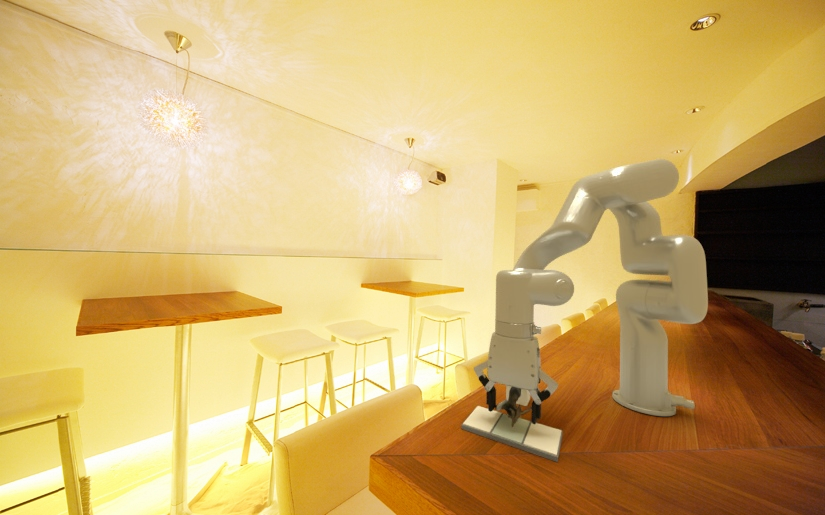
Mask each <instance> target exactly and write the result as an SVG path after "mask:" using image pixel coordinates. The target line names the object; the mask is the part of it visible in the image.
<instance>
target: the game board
mask: <svg viewBox="0 0 825 515" xmlns="http://www.w3.org/2000/svg"><path fill="white" fill-rule="evenodd" d="M507 416H509V415H508V413H504V412H500V411H497V410H495V409H493V411H488V408H486V407H483V406H481V405H476V406H475V408H474V409H473V411H472V412H471V413H470V414H468V416H467V418H466V419H465V420H464V421H463V422H462V424H461V427H460V429H461V430H463V431H466V432H470V433H471V434H475V435H478V436H481V437H483V438H486V439H489V440H493V441H495V442H497V443H501V444H504V445H507V446H510V447H513V448H516V449H518V450H520V451H524V452H527V453H530V454H532V455H536V456H538V457H541V458H545V459H547V460H550V461H553V462H556V463H559V462H558V461H559V456H560V452H561V451H560V450H561V446H562V441H563V434H564V431H563V430H562V429H559V428H555V427H552V426H548V425H545V424H542V423H538V422H536V424H532V423H531V420H528V419H524V418H522V419H521V418H520V417H519V418H518V420H517V421H516V423H515V424H514V426H513V427H512V419H511V418H508V417H507Z"/></svg>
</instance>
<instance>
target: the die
mask: <svg viewBox="0 0 825 515" xmlns="http://www.w3.org/2000/svg"><path fill="white" fill-rule="evenodd" d="M505 386H506V387H505V388H506V389H505V400H507V401H508V399H509V391H510V389H511V387H512V386H507V385H505ZM530 400H531V394H530V393H529V391H528V390H525V389H521V396H520V397H519V398H518V401H517V402H516V405H519V404H520V406H524V407H528V405H529V402H530Z"/></svg>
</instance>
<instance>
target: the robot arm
mask: <svg viewBox="0 0 825 515" xmlns="http://www.w3.org/2000/svg"><path fill="white" fill-rule="evenodd" d="M679 174H680V173H679V170H678V168H677V166H676V164H674V163H673V162H672V161H670V160H668V159H665V158H655V159H652V160H647V161H641V162H635V163H630V164H624V165H620V166H616V167H612V168H608V169H605V170H602V171H598V172H597V173H592V174H589V175H585V176H584V177H581V178H580V179H578V180H577V181H576V182H575V183H574V184H573V186H572V188H571V189H570V191H569V192H568V195H567V197H566V199H565V200H564V203H563V204H562V205H561V206H562V207H561V208H560V210H559V212H558V214H557V215H556V217H555V220H554V221H553V222H552V225H551V226H550V227H549V228H548V229H547V230H545V231H544V232H543V233H542V234H540V235H539V236H538V237H537V238H536V239H535V240H534V241H532V242H531V243H530V245H528V247H526V248H525V249H524V251H523V252H522V253H521V255H520V256H519V257H518V259H517V261H516V263H515V265H514V267H513V269H505V270H500V271H498V272H497V274H496V275H495V316H494V317H495V320H494V322H495V323H494V326H495V327H494V332H492V334H491V338H490V341H489V348H488V355H487V356H488V357H487V360H485V361H482V362H481V363H479V364H477V365H475V366H473V371H474V372H475V375H476V377H477V378H478V381H479V382H480V383H481V385H482V386H483V387H484V390H485V392H486V398H485V399H486V401H485V402H486V405H488V408H487V409H488V411H493V410H495V406H496V405H497V389H496V387H495V385H496V384H500V385H504V386H506V385H507V386H512V387H516V388H520V389H525V390H528V391H529V393H530V397H531V398H532V402H531V407H532V409H531V418H530V419H531V420H530V421H531V423H532V424H536V423H538V422H537V421H538V420H541V417H542V403H543V402H544V401H546V400H548V399H549V398H550V397H551V396H552V395H553V393H554V392H555V391H556V390H557V389H558V387H559V383H558V382H557V381H556V380H554V379H553V378H552V377H551V376H550V375H549V374H547V373H546V372H545V371H544V370H543V369H542V368H541V366H542V365H541V364H542V363H541V361H542V360H541V351H540V344H539V339H538V338H537V336H535V335H537V334H538V335H541V333H542V327H541V326H537V325H536V324H535V322H534V309H535V308H534V306H535V305H542V306H550V307H557V306H562V305H565V304H567V303H568V302H569V301H570V300H571V299H572V297H573V296H574V293H575V285H574V282H573V280H572V279H571V278H570V276H569V275H568V274H566V273H564V272H562V271H559V270H554V269H545V268H547V266H548V265H549V264H551V263H553V261H555V260H556V259H559V258H560V257H562V256H564V255H567V254H569V253H572V252H573V251H576V250H578V249H580V248H582V247H583V246H586V245H587V244H588V243H589V242H590V241H591V240H592V238H593V236H594V233H595V231H596V229H597V227H598V225H599V223H600V221H601V219H602V217H603V215H604V213H605V211H607V210H609V211H610V213H612V215H613V216H614V217H615V219H616V221H617V225H618V233H619V252H620V261H621V265H622V268H623V270H625V271H626V272H628V273H629V274H634V275H646V276H648V275H649V276H669V278H670V281H669V280H658V279H630V280H626V281H624V282H622V283H620V284H619V286H618V287H617V289H616V292H615V301H616V307H617V310H618V315H619V327H620V328H619V330H620V331H619V332H620V335H619V337H620V338H619V347H620V348H619V389H615V390H613V391H612V399H613V400H614V401H615V402H617V403H618V404H620V405H621V406H623V407H625V408H626V409H629V410H632V411H635V412H638V413H642V414H645V415H649V416H655V417H656V416H657V417H672V416H674V415H676V414H677V408H676V407H677V406H678V407H683V408H686V409H691V410H695V406H696V405H695V400H691V399H688V398H685V396H682V395H679V394H678V395H677V394H676V395H675V394H672V393H671V391H669V389H668V387H669V386H668V385H669V383H668V375H669V373H668V367H669V365H668V364H669V359H668V358H669V355H668V354H669V351H668V349H669V340H668V335H667V332H666V330H665V328H664V327H663V325H662V324H661V322H660V321H664V322H665V321H666V322H671V323H677V324H684V325H693V324H694V325H695V324H699V323H700V322H702V321H703V320H704V319H705V317H706V316H707V313H708V307H709V298H708V297H709V295H708V293H709V292H708V277H707V274H708V273H707V261H706V254H705V250H704V248H703V246H702V244H701V243H700V241H699V240H698V239H696V238H695V237H693V236H691V235H686V234H671V235H663V233H662V231H663V230H662V224H661V216H660V214H659V212H658V211H657V209H656V208H655V207H654V206H653V205H652V204H651V203H649V201H653V200H657V199H662V198H665V197H667V196H669V195H670V194H672V193H673V192H674V191H675V189H677V186H678V185H679V182H680V181H679V179H680V175H679ZM485 369H486V374H487V375H486V374H485V373H484V370H485ZM541 381H543V382H544V384H545V385H546V386H547V387H546V388H545V389H543V390H542V391H541V390H540V388H539V384H541Z"/></svg>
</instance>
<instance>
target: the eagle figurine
mask: <svg viewBox="0 0 825 515" xmlns="http://www.w3.org/2000/svg"><path fill="white" fill-rule="evenodd" d="M520 396H521V389H520V388H516V387H511V389H510V391H509V399H508V401H507V400H506V399H504V400H502V401H501V402H499V403H496V406H495V408H494V410H495V411H497V412H500V411H501V410H504V411H506V412H507V413H506V414H507V415H509V416H507V417H508V418H511V419H512V427H513V426H514V424H515V423H516V421H517V420H518V418H521V419H523V417H522V416H523V415H524V414H527V413H528V412H530V411H532V406H530V407H528V408H526V409H525V410H522V407H521V405H520V404H516V402H517V401H518V398H519V397H520ZM517 405H518V406H517Z"/></svg>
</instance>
